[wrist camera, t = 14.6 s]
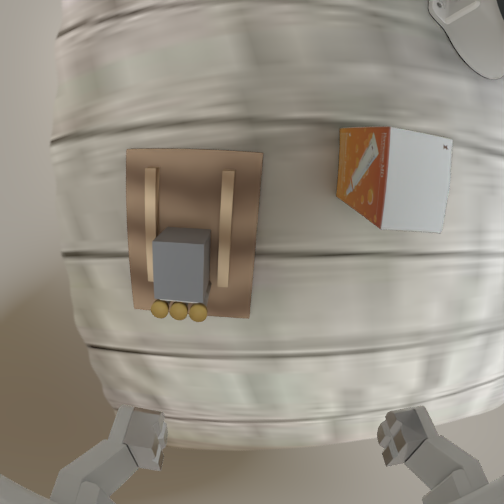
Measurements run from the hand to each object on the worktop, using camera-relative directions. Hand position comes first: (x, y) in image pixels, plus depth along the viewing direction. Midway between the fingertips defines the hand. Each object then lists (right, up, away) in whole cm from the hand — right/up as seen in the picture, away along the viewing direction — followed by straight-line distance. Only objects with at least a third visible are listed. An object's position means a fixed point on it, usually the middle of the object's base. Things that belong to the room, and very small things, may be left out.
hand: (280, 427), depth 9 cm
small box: (+12, +16, +23) cm, 31 cm away
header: (-8, +8, +26) cm, 28 cm away
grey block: (-8, +6, +25) cm, 27 cm away
